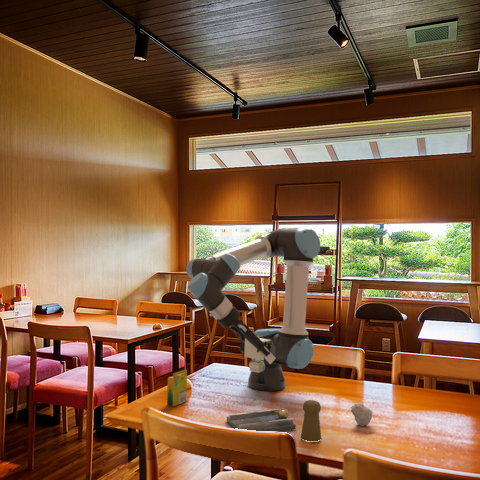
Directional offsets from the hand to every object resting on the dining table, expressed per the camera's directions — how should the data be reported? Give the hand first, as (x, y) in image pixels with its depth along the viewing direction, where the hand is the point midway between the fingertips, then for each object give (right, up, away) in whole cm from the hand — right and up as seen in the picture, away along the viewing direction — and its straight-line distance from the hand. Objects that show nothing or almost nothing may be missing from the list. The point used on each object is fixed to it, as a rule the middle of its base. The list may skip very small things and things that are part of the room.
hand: (266, 357), depth 156 cm
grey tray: (-3, -18, -14) cm, 23 cm away
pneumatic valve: (-3, -5, -1) cm, 6 cm away
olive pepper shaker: (+12, -18, -23) cm, 32 cm away
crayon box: (-32, -18, +5) cm, 37 cm away
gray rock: (+30, -19, -11) cm, 37 cm away
